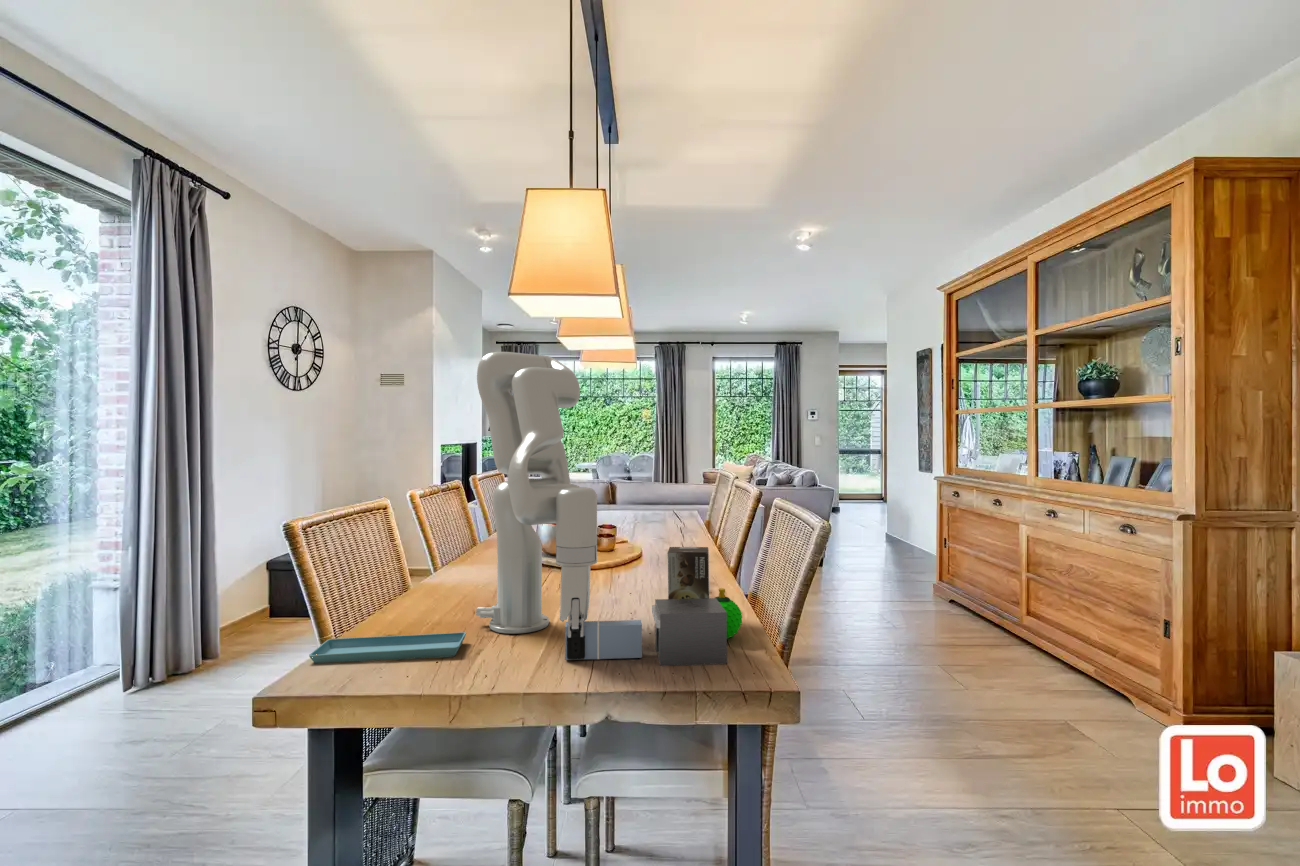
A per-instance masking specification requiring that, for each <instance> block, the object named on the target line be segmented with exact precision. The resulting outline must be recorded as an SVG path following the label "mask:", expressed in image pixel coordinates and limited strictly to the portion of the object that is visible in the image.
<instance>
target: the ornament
mask: <svg viewBox="0 0 1300 866" xmlns="http://www.w3.org/2000/svg"><path fill="white" fill-rule="evenodd" d="M725 593H726V589H725V588H722V587H721V588H720V587H719V588H718V596H715V597H714V598H716V599H717V600H718V601H719V603H720V604H721V605H722V607H723V608H724V609H725V611H726V612H727V640H728V639H730V638H733V637H734V635H735V634H737V633H738V631H739V630H740V629H741V625H742V623H743V621H742V619H743V615H742V611H741V608H740V607H739V606H738V604H736V602H734V600H732V599H731V598H729V597H727V596H726V595H725Z"/></svg>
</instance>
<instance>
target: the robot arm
mask: <svg viewBox="0 0 1300 866" xmlns="http://www.w3.org/2000/svg"><path fill="white" fill-rule="evenodd" d="M476 384H477V390H478V394H479V396H480V399H481V402H482V404H483V407H484V410H485V412H486V414H487V417H488V423H489V425H488V426H489V431H490V432H489V433H490V439H491V446H492V447H491V449H492V454H493V459H494V464H495V468H496V469H497V471H498V472H499V473H501V474H504V475H507V480H505V481H503V482H500V483H499V484H498V485H497V486H496V487H495V489H494V491H493V494H492V509H493V513H494V520H495V528H496V530H495V531H496V560H497V561H496V604H495V605H491V607H489V606H488V607H487V606H477V607H476V610H475V613H476V616H477V617H479V619H485V618H491V619H490V621H489V624H488V627H489V629H490V630H491V631H493V632H496V633H500V634H507V635H508V634H512V635H513V634H514V635H515V634H516V635H518V634H528V633H533V632H537V631H540V630H543V629H545V628H547V626H548V625H549V624H550V618H549V617H548V615H545V614H543V613H542V611H543V608H542V605H543V603H542V602H543V601H542V597H543V595H542V593H543V591H542V589H543V588H542V587H543V585H542V584H543V583H542V581H543V565H542V564H543V563H542V561H543V557H542V556H543V545H542V540H541V538H540V536H539V534H538V533H537V532H536V530H535V529H534V528H533V526H536V525H549V524H555V527H556V528H555V564H557V565H558V566H561V571H560V596H559V597H560V600H559V601H560V602H559V603H560V604H559V605H560V606H559V608H560V609H559V621H561V622H565V621H567V622H568V636H567V659H579V660H585V659H584V658H585V636H584V621H587V620H588V615H589V614H588V613H589V607H590V596H591V566H593V565H595V564H597V563H598V496H597V495H598V494H597V491H596V490H595V489H593V488H590V487H584V486H579V485H577V484H574V483H571V478H570V472H569V467H568V460H567V459H568V458H567V454H566V449H565V446H564V444H563V441H562V439H563V437H564V434H565V433H564V432H565V431H564V428H563V423H562V419H561V414H560V411H559V409H570V408H573V407H574V406H576V405H577V403H578V402H579V400H580V395H581V388H580V383H579V381H578V378H577V376H576V374H575V373H574V372H573V371H572V370H571V369H570V368H569V367H567V366H566V365H564V364H563V363H562V362H560V361H558V360H557V359H556V358H554V357H551V356H549V355H543V354H535V353H534V354H533V353H523V352H515V351H514V352H513V351H495V352H494V351H493V352H489V353H487V354H485V355H484V356H483V357H481V359H480V361H479V363H478V365H477V371H476ZM511 391H512V393H511ZM529 475H540V476H541V478H529ZM571 623H572V625H571ZM579 623H581V626H580V625H579ZM580 631H581V632H580Z"/></svg>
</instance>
